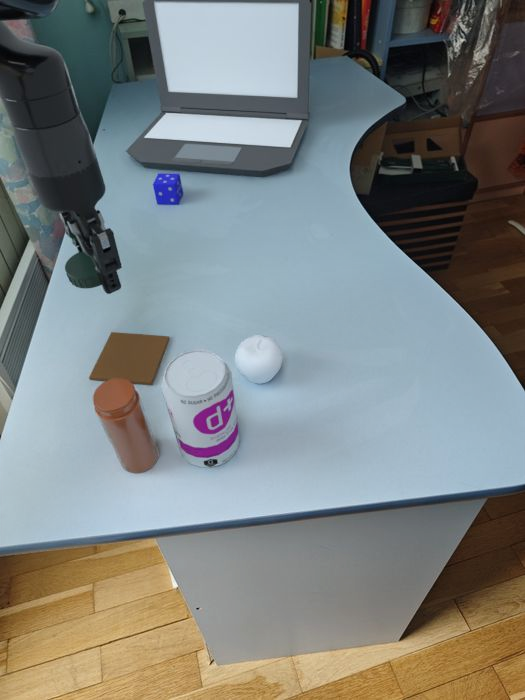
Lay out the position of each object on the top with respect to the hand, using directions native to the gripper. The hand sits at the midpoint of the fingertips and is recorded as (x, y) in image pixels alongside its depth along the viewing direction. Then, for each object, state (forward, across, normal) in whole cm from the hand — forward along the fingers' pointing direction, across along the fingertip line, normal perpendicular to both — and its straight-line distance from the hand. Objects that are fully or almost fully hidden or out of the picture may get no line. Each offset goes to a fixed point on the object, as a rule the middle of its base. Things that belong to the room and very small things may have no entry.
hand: (103, 278), depth 66 cm
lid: (-3, 0, +1) cm, 3 cm away
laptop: (+17, +54, -53) cm, 78 cm away
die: (+17, +40, -30) cm, 52 cm away
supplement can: (+16, -21, -1) cm, 27 cm away
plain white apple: (+17, -16, -14) cm, 27 cm away
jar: (+16, -17, +7) cm, 25 cm away
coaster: (+16, 0, 0) cm, 16 cm away
